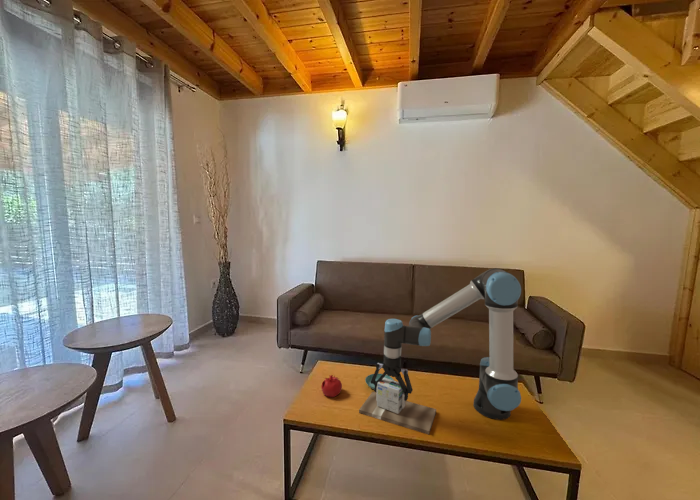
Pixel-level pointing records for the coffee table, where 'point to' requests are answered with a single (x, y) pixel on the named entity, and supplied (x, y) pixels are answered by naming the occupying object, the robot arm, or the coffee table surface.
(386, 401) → the light bulb box
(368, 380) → the saucer
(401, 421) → the board
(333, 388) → the pomegranate
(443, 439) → the coffee table surface
